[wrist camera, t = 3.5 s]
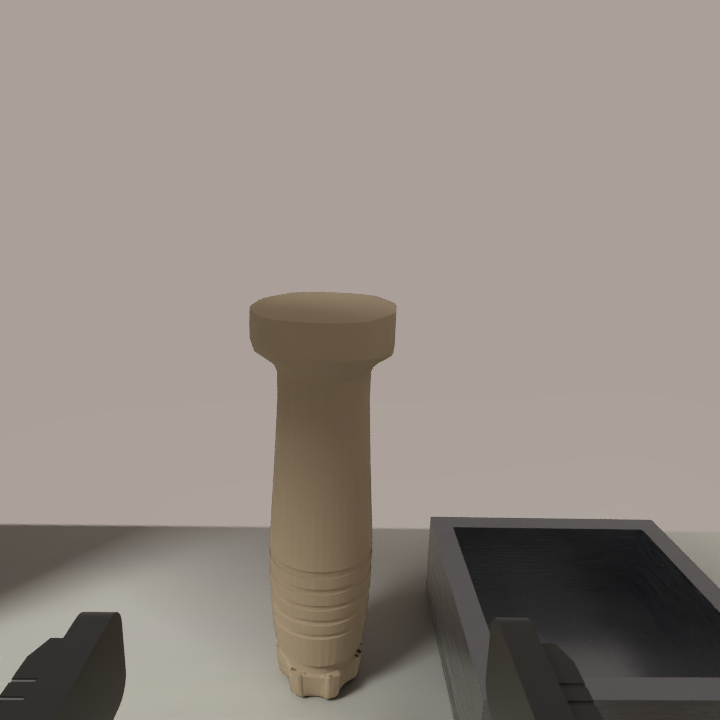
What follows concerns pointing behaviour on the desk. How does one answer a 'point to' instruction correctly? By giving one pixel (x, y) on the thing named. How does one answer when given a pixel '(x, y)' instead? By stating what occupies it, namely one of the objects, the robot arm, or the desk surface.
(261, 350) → the handle
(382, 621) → the desk surface
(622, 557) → the grey square tray
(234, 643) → the desk surface
